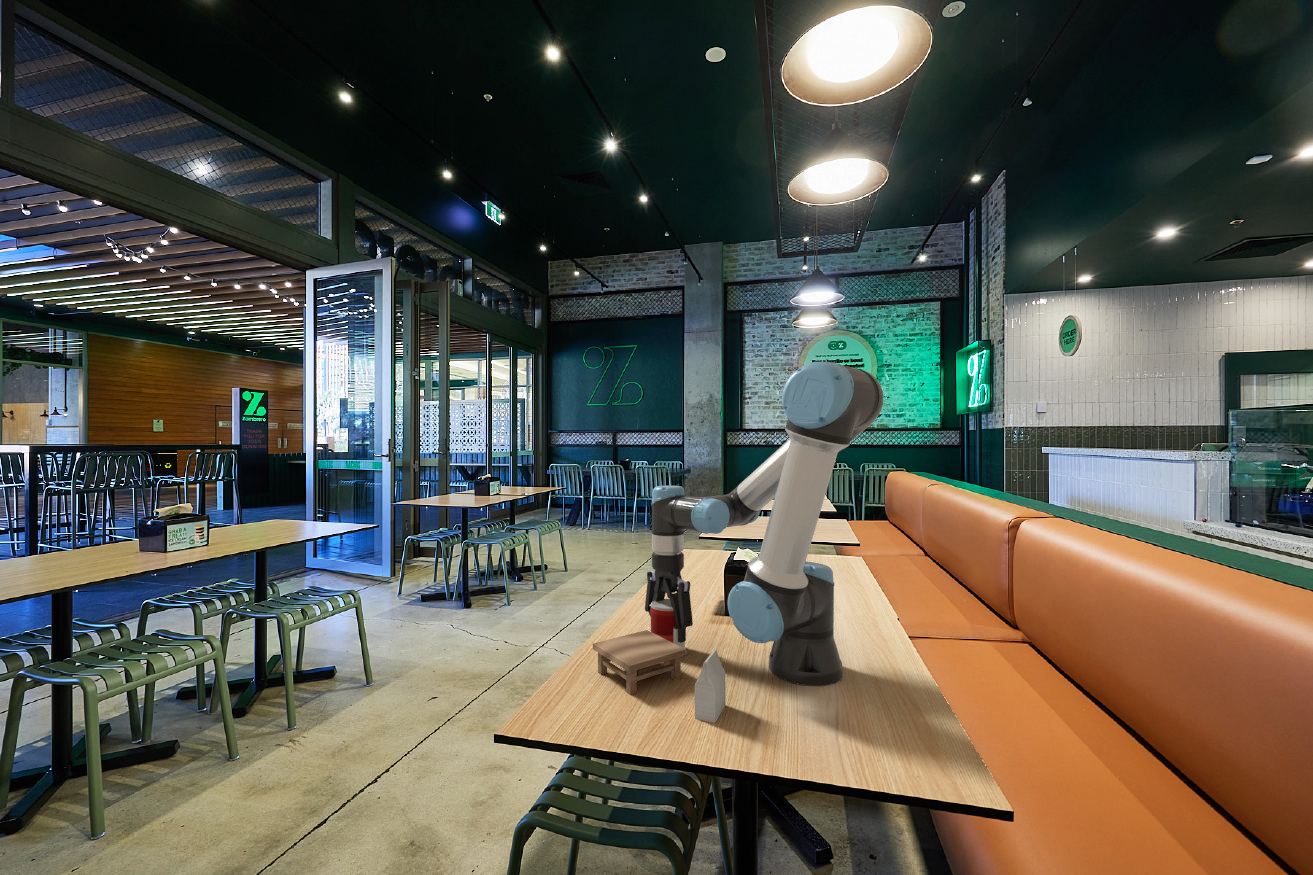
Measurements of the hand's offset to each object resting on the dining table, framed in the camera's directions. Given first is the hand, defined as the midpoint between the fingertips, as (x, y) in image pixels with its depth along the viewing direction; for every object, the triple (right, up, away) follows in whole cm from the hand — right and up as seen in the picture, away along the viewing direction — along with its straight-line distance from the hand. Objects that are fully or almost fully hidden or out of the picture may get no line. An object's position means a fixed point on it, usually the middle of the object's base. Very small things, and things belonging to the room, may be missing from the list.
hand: (667, 649), depth 124 cm
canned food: (0, -1, 0) cm, 1 cm away
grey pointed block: (+7, 0, -28) cm, 29 cm away
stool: (-6, 0, -13) cm, 15 cm away
